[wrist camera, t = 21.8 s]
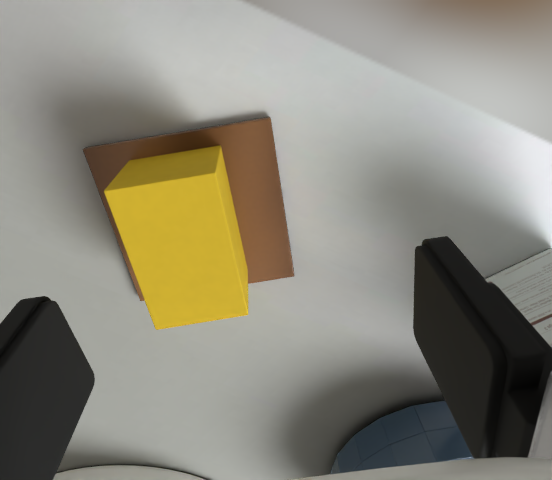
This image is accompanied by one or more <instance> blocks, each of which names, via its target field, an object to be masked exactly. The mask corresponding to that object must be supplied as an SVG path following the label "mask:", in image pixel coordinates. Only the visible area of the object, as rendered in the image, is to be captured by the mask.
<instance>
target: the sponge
mask: <svg viewBox="0 0 552 480" xmlns="http://www.w3.org/2000/svg"><path fill="white" fill-rule="evenodd" d="M104 193H105V196H106V199H107V201H108V204H109V207H110V209H111V212H112V215H113V217H114V220H115V223H116V225H117V228H118V231H119V233H120V236H121V239H122V241H123V244H124V247H125V249H126V252H127V255H128V257H129V260H130V263H131V265H132V268H133V270H134V273H135V276H136V278H137V281H138V284H139V286H140V289H141V292H142V294H143V297H144V300H145V302H146V305H147V308H148V310H149V313H150V316H151V318H152V321H153V324H154V326H155V329H156V330H158V329H164V328H170V327H176V326H183V325H189V324H195V323H201V322H207V321H213V320H220V319H226V318H232V317H238V316H244V315H248V269H247V264H246V260H245V255H244V250H243V246H242V241H241V236H240V232H239V227H238V223H237V218H236V213H235V209H234V204H233V199H232V195H231V190H230V186H229V181H228V176H227V172H226V167H225V162H224V158H223V153H222V149H221V146H220V145H219V146H213V147H207V148H201V149H195V150H189V151H183V152H177V153H171V154H165V155H159V156H153V157H147V158H141V159H135V160H129V161H128V163H127V164H126V165H125V166H124V167H123V169H122V170H121V171H120V172H119V173H118V174H117V176H116V177H115V178H114V179H113V180H112V182H111V183H110V184H109V185H108V186H107V188H106V189H105V190H104Z"/></svg>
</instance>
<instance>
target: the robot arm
mask: <svg viewBox="0 0 552 480" xmlns="http://www.w3.org/2000/svg"><path fill="white" fill-rule="evenodd" d="M413 329H414V335H415V338H416V341H417V343H418V345H419V347H420V349H421V352H422V354H423V356H424V358H425V360H426V362H427V364H428V366H429V368H430V370H431V372H432V374H433V376H434V378H435V380H436V382H437V384H438V387H439V389H440V391H441V393H442V395H443V397H444V399H445V401H446V403H447V405H448V407H449V409H450V411H451V413H452V415H453V417H454V419H455V422H456V424H457V426H458V428H459V430H460V432H461V434H462V436H463V438H464V440H465V442H466V444H467V446H468V448H469V450H470V452H471V454H472V456H473V458H474V459H464V460H454V461H444V462H435V463H425V464H416V465H406V466H397V467H388V468H378V469H370V470H362V471H354V472H346V473H338V474H330V475H322V476H314V477H306V478H298V479H289V480H552V347H551V346H550V345H549V344H548V343H547V342H546V341H545V339H544V338H543V337H542V336H541V335H540V334H539V333H538V332H537V330H536V329H535V328H534V327H533V326H532V325H531V324H530V322H529V321H528V320H527V319H526V318H525V317H524V316H523V314H522V313H521V312H520V311H519V310H518V309H517V308H516V306H515V305H514V304H513V303H512V302H511V301H510V300H509V299H508V297H507V296H506V295H505V294H504V293H503V292H502V291H501V289H500V288H499V287H498V286H496V285H495V284H494V283H487V281H486V280H485V279H484V278H483V277H482V276H481V274H480V273H479V272H478V271H477V270H476V269H475V267H474V266H473V265H472V264H471V263H470V261H469V260H468V259H467V258H466V257H465V256H464V254H463V253H462V252H461V251H460V250H459V249H458V247H457V246H456V245H455V244H454V243H453V242H452V240H451V239H450V238H449V237H447V236H445V237H438V238H431V239H425V240H423V242H422V246H417V247H416V249H415V275H414V320H413ZM94 381H95V378H94V373H93V371H92V369H91V367H90V365H89V363H88V361H87V359H86V357H85V355H84V353H83V351H82V350H81V348H80V346H79V344H78V342H77V340H76V338H75V336H74V334H73V332H72V330H71V328H70V327H69V325H68V323H67V321H66V319H65V317H64V315H63V313H62V311H61V309H60V307H59V305H58V304H57V303H56V302H55V301H51V300H50V299H49V298H48V297H45V296H42V297H35V298H28V299H23V300H20V301H19V302H18V303H17V304H16V306H15V307H14V308H13V309H12V310H11V312H10V313H9V314H8V315H7V316H6V318H5V319H4V320H3V321H2V323H1V324H0V480H53V478H54V476H55V474H56V472H57V469H58V467H59V465H60V462H61V460H62V458H63V455H64V453H65V451H66V449H67V446H68V444H69V442H70V439H71V437H72V435H73V432H74V430H75V428H76V426H77V423H78V421H79V419H80V416H81V414H82V412H83V409H84V407H85V405H86V403H87V400H88V398H89V396H90V393H91V391H92V389H93V386H94Z"/></svg>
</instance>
